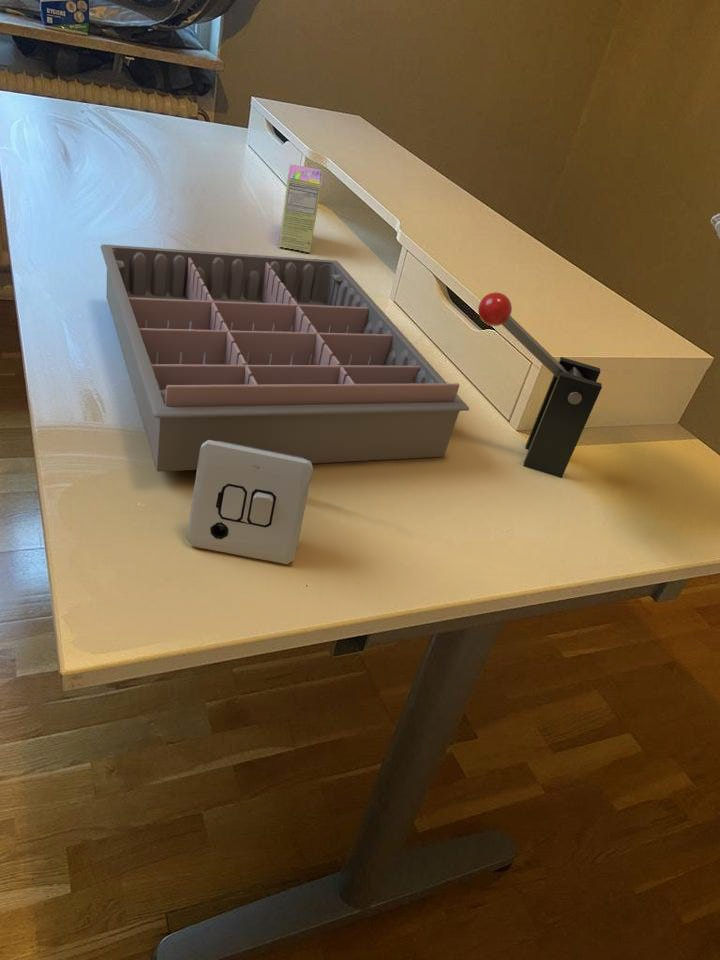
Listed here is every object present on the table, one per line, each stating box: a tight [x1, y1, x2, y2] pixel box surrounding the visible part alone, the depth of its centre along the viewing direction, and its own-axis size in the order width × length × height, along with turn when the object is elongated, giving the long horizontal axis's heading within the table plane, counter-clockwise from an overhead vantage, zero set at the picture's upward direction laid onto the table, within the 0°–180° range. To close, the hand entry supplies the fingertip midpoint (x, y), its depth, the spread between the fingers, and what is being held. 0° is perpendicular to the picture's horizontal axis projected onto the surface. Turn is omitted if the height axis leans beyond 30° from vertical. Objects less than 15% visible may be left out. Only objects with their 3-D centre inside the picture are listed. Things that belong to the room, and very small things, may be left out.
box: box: [278, 164, 322, 254], centre depth 129 cm, size 10×6×12 cm, turn 2°
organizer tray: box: [100, 244, 470, 473], centre depth 86 cm, size 32×40×10 cm
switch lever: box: [477, 291, 587, 379], centre depth 78 cm, size 15×3×3 cm, turn 76°
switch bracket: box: [523, 356, 603, 479], centre depth 81 cm, size 12×10×13 cm
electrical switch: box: [186, 440, 314, 565], centre depth 63 cm, size 9×5×9 cm, turn 87°
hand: (714, 230), depth 68 cm, fingers closed
